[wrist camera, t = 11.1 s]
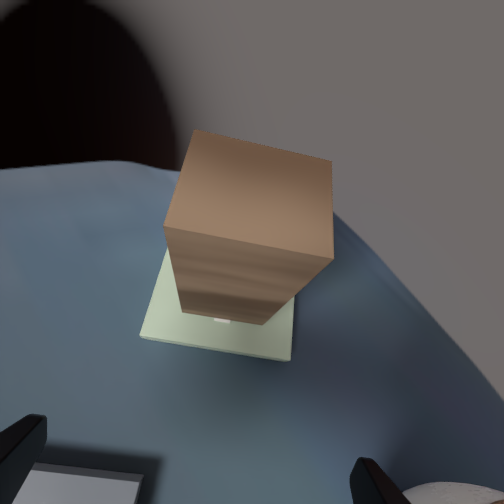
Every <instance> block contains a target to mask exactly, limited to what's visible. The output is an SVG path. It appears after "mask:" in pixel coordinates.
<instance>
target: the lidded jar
mask: <svg viewBox="0 0 504 504" xmlns="http://www.w3.org/2000/svg"><path fill="white" fill-rule="evenodd" d="M402 493H403V494H404V496H405V497H406V498H407V499H408V500H409V501H410V503H411V504H504V492H501V491H498V490H494V489H491V488H488V487H484V486H478V485H473V484H467V483H456V482H433V483H426V484H422V485H418V486H415V487H413V488H410V489H408V490H405V491H404V492H402Z"/></svg>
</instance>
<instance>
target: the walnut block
mask: <svg viewBox="0 0 504 504" xmlns="http://www.w3.org/2000/svg"><path fill="white" fill-rule="evenodd" d="M332 201H333V200H332V161H329V160H325V159H320V158H316V157H312V156H307V155H303V154H299V153H294V152H290V151H286V150H282V149H277V148H273V147H269V146H265V145H260V144H256V143H252V142H247V141H243V140H239V139H235V138H230V137H226V136H222V135H218V134H213V133H209V132H204V131H200V130H196V129H194V132H193V135H192V138H191V142H190V145H189V148H188V151H187V154H186V157H185V160H184V163H183V166H182V170H181V172H180V175H179V178H178V182H177V185H176V188H175V191H174V194H173V197H172V200H171V203H170V206H169V209H168V212H167V216H166V219H165V222H164V225H163V228H164V232H165V237H166V241H167V246H168V251H169V255H170V260H171V264H172V269H173V273H174V278H175V283H176V287H177V292H178V296H179V301H180V306H181V310H182V313H189V314H195V315H201V316H207V317H213V318H220V319H226V320H232V321H238V322H244V323H250V324H257V325H263V324H265V323H266V322H267V321H268V320H269V319H270V318H271V317H272V316H273V315H274V314H275V313H276V312H277V311H279V310H280V309H281V308H282V307H283V306H284V305H285V304H286V303H287V302H288V301H289V300H290V299H291V298H293V297H294V296H295V295H296V294H297V293H298V292H299V291H300V290H301V289H302V288H303V287H304V286H305V285H307V284H308V283H309V282H310V281H311V280H312V279H313V278H314V277H315V276H316V275H317V274H318V273H319V272H321V271H322V270H323V269H324V268H325V267H326V266H327V265H328V264H329V263H330V262H331V261H332V260H333V259H334V240H333V202H332Z"/></svg>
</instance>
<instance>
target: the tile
mask: <svg viewBox="0 0 504 504" xmlns="http://www.w3.org/2000/svg"><path fill="white" fill-rule="evenodd" d="M143 476H144V475H141V474H132V473H123V472H115V471H106V470H98V469H89V468H80V467H72V466H63V465H54V464H46V463H37V462H35V464H34V466H33V467H32V469H31V471H30V473H29V474H28V476H27V478H26V480H25V482H24V483H23V485H22V487H21V489H20V490H19V492H18V494H17V496H16V498H15V499H14V501H13V503H12V504H137V500H138V496H139V492H140V488H141V484H142V480H143Z"/></svg>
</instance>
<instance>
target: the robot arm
mask: <svg viewBox="0 0 504 504" xmlns="http://www.w3.org/2000/svg"><path fill="white" fill-rule="evenodd" d="M46 440H47V417H46V416H45V415H38V414H29V415H27V416H25V417H23V418H22V419H20V420H19V421H17V422H16V423H14V424H13V425H11V426H9V427H8V428H6V429H5V430H3V431H2V432H0V504H12V503H13V501H14V499H15V498H16V496H17V494H18V492H19V490H20V489H21V487H22V485H23V483H24V482H25V480H26V478H27V476H28V474H29V473H30V471H31V469H32V467H33V466H34V464H35V462H36V460H37V458H38V457H39V455H40V453H41V451H42V449H43V448H44V445H45V443H46ZM350 488H351V493H352V499H353V504H411V503H410V501H409V500H408V499H407V498H406V497H405V496H404V494H403V493H402V492H401V491H400V490H399V489H398V487H397V486H396V485H395V484H394V483H393V482H392V480H391V479H390V478H389V477H388V476H387V475H386V473H385V472H384V471H383V470H382V469H381V468H380V467H379V465H378V464H377V463H376V462H375V461H374V460H373V459H371V458H364V457H359V458H358V459H357V461H356V463H355V465H354V468H353V470H352V472H351V474H350Z"/></svg>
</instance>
